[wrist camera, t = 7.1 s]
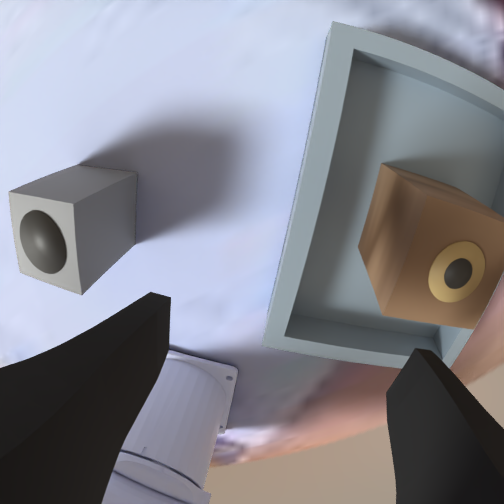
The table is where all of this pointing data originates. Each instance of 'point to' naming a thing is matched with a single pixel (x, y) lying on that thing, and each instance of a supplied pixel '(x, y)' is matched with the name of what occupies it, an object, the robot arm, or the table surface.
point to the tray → (362, 188)
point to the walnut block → (431, 250)
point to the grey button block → (74, 224)
